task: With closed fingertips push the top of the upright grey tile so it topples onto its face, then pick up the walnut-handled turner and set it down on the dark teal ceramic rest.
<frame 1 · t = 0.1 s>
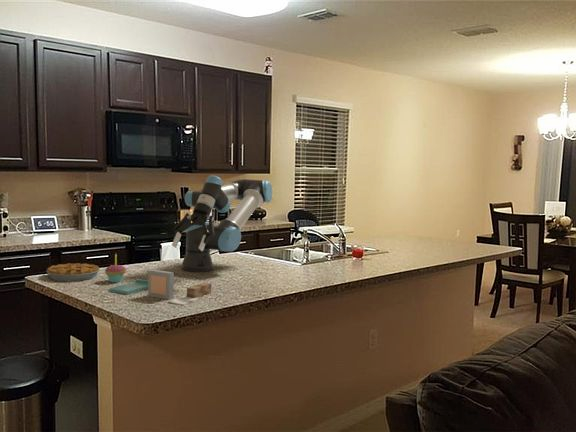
hand: (187, 248, 227), 15 cm above the worktop, tool tilted 35°, fingers open, 13 cm apart
pie: (73, 277, 232), on the worktop
cupcake: (115, 281, 226), on the worktop
rest: (132, 288, 214), on the worktop
tile: (160, 297, 204), on the worktop
turner: (199, 295, 208), on the worktop
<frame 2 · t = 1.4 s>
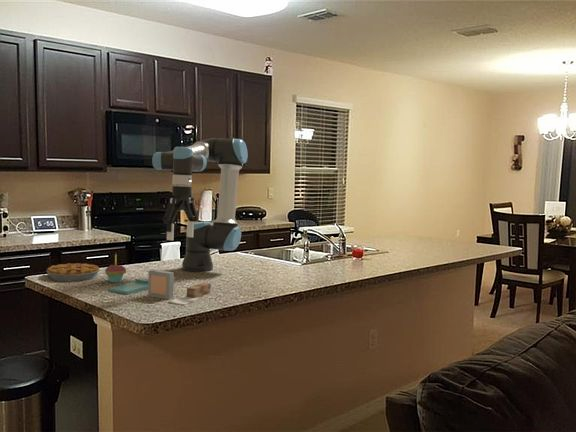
hand: (180, 238, 213), 21 cm above the worktop, tool pointing down, fingers open, 13 cm apart
nothing on the worktop moved.
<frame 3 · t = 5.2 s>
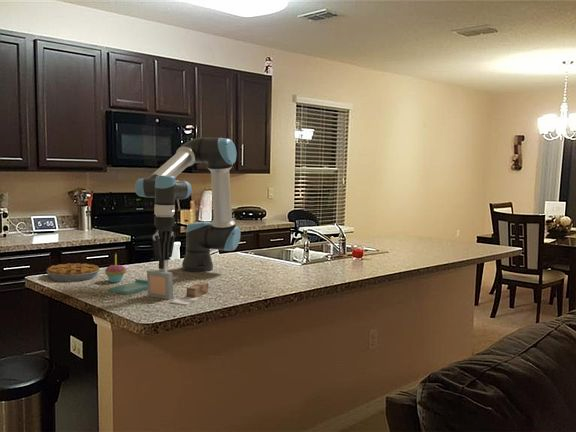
hand: (163, 276, 204), 8 cm above the worktop, tool pointing down, fingers closed
tile: (160, 296, 204), on the worktop, tilted 6°, touching gripper
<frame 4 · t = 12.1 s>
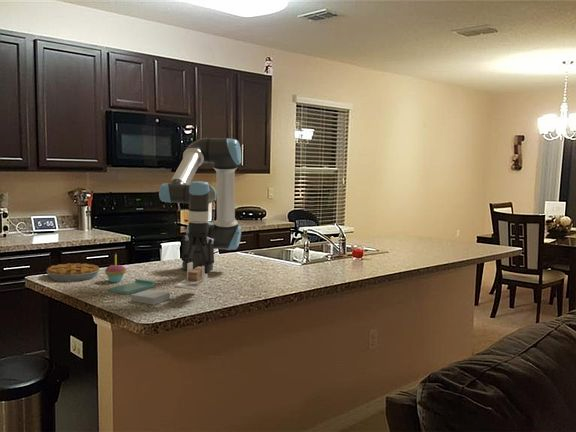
hand: (197, 280, 206), 6 cm above the worktop, tool pointing down, fingers closed on turner, 6 cm apart
tile: (158, 294, 202), point 1 cm above the worktop, tilted 90°
turner: (197, 279, 209), point 6 cm above the worktop, touching gripper
everything else where it was.
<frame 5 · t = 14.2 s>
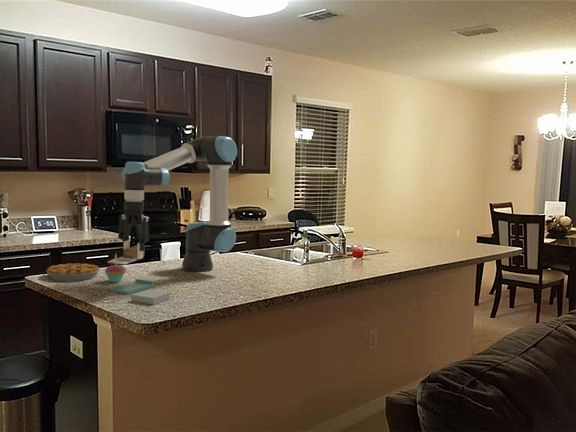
hand: (133, 257, 213), 13 cm above the worktop, tool pointing down, fingers closed on turner, 6 cm apart
turner: (134, 257, 216), point 12 cm above the worktop, touching gripper
everything else where it was.
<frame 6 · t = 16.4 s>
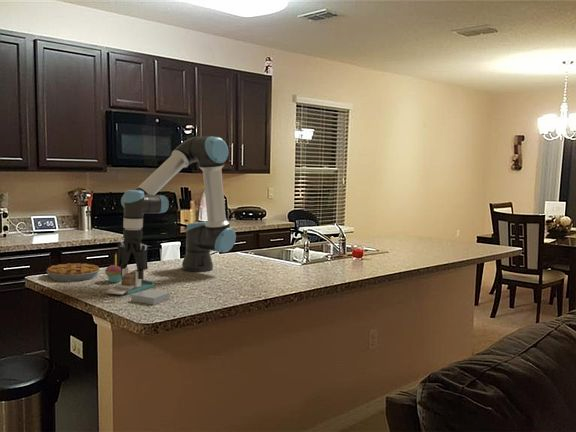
hand: (131, 285, 214), 2 cm above the worktop, tool pointing down, fingers closed on turner, 6 cm apart
turner: (132, 282, 216), point 2 cm above the worktop, touching gripper, rest
everything else where it was.
when the fingers open (2 cm above the worktop, at t = 16.7 s): turner stays where it is, resting on rest.
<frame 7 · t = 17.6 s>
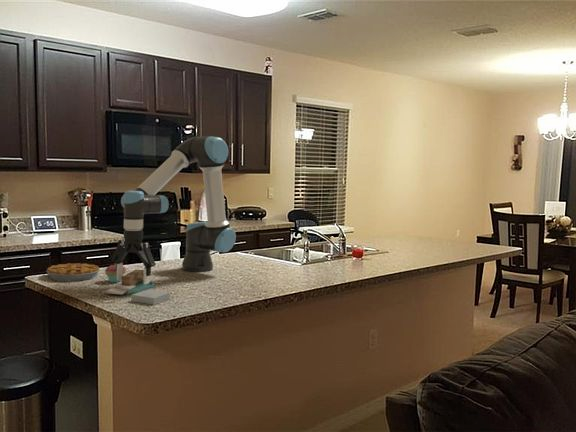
hand: (132, 281, 214), 3 cm above the worktop, tool pointing down, fingers open, 13 cm apart
turner: (133, 282, 216), point 2 cm above the worktop, touching rest
everything else where it was.
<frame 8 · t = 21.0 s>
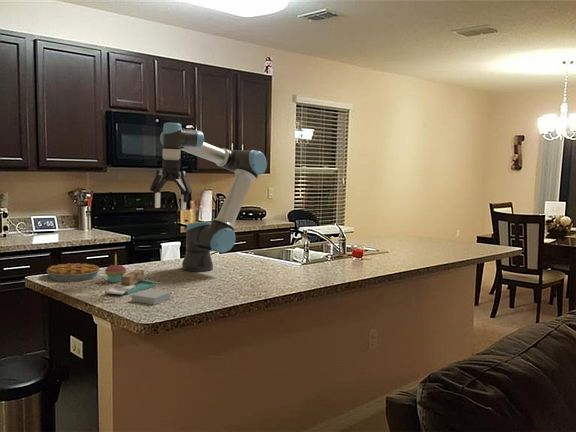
hand: (170, 208, 228), 32 cm above the worktop, tool pointing down, fingers open, 13 cm apart
nothing on the worktop moved.
at the end: tile tilted 90°; turner inside the target area on the rest (1.8 cm from its centre), point 1.9 cm above the rest's base; the gripper is holding nothing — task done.
